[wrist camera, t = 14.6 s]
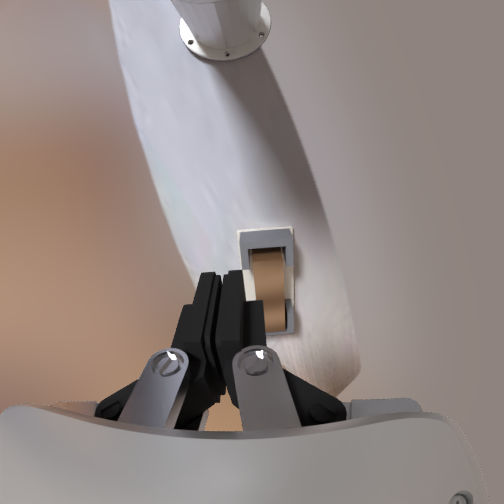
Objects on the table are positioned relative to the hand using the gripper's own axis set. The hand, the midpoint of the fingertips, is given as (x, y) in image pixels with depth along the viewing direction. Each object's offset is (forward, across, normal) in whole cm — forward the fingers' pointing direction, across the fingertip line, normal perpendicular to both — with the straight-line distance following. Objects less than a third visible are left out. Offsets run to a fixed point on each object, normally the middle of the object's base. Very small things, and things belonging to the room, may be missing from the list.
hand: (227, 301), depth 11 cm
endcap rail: (+28, -2, +16) cm, 32 cm away
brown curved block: (+27, -2, +16) cm, 31 cm away
